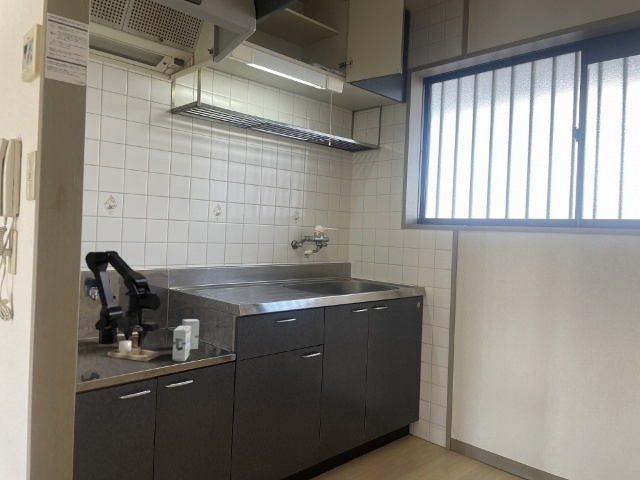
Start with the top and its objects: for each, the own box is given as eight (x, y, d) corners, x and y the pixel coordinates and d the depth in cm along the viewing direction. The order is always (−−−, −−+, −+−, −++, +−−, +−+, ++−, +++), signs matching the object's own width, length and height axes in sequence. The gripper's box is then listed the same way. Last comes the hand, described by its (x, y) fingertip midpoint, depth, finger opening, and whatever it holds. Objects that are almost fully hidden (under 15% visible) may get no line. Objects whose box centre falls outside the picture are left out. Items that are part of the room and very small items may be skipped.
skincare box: (183, 351, 198) (185, 321, 197) (180, 348, 201) (181, 319, 201) (198, 349, 201) (199, 320, 201) (194, 347, 205) (196, 318, 205)
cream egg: (115, 355, 185) (116, 342, 185) (123, 352, 189) (124, 339, 189) (126, 356, 184) (126, 343, 183) (133, 353, 188) (133, 341, 188)
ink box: (177, 354, 192) (178, 324, 192) (190, 355, 192) (191, 325, 192) (171, 360, 183) (173, 329, 183) (185, 361, 184) (186, 330, 183)
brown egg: (125, 350, 195) (126, 337, 195) (132, 347, 199) (133, 335, 199) (135, 351, 194) (135, 338, 194) (142, 348, 198) (142, 336, 198)
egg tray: (107, 357, 183) (107, 352, 183) (122, 352, 191) (122, 347, 191) (145, 363, 179) (145, 357, 179) (159, 357, 187) (159, 352, 187)
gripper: (102, 308, 191) (100, 348, 191) (143, 312, 186) (142, 353, 186) (120, 304, 202) (119, 342, 202) (160, 308, 197) (159, 347, 197)
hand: (134, 346), depth 197 cm, fingers closed on brown egg, 4 cm apart
